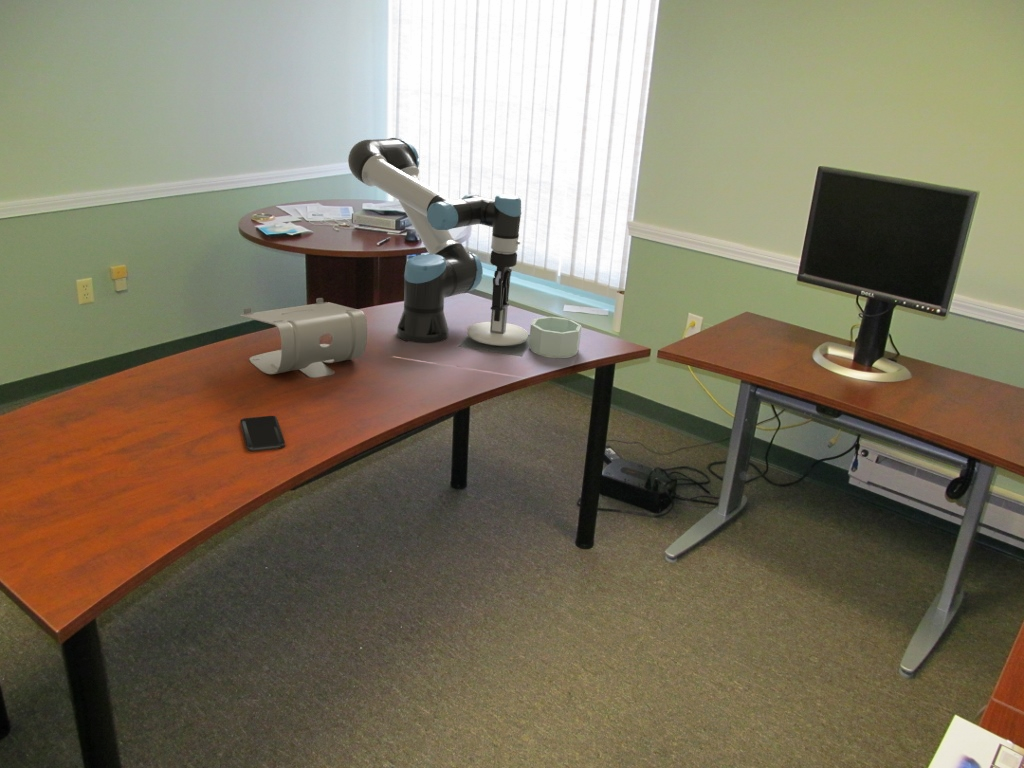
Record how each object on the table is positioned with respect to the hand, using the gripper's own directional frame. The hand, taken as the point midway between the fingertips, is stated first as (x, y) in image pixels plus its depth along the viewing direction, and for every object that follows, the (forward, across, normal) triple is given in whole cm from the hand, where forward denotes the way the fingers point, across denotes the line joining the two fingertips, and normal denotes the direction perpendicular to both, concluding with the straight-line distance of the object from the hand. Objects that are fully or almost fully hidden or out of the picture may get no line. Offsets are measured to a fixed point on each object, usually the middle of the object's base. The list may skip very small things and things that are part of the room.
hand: (498, 328), depth 242 cm
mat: (+4, 0, 0) cm, 4 cm away
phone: (+5, -79, +33) cm, 86 cm away
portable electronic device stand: (+5, -38, +43) cm, 57 cm away
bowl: (+4, 0, -17) cm, 18 cm away
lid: (+3, 0, 0) cm, 3 cm away
